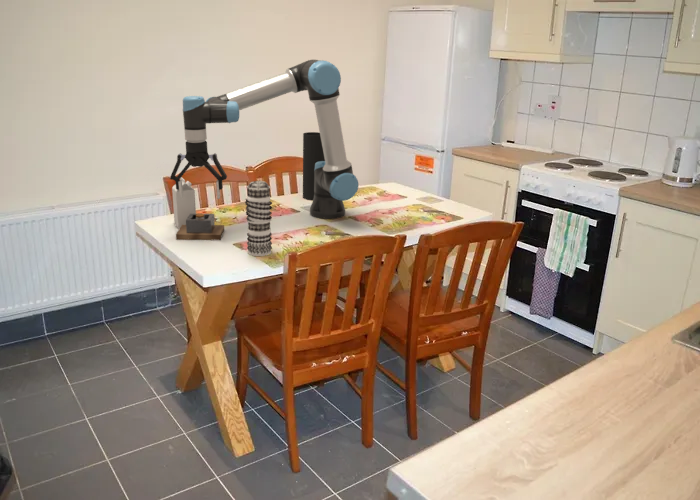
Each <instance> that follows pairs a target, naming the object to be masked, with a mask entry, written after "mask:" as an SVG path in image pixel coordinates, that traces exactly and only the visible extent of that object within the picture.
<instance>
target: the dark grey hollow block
mask: <svg viewBox="0 0 700 500" xmlns="http://www.w3.org/2000/svg"><path fill="white" fill-rule="evenodd" d="M196 214H197V213H196ZM196 214H192V213H190V214H189V216H188V218H187V219H186V231H187V233H212V231H213V229H214V227H215V225H216V224H215V213H203V214H204V219H196Z"/></svg>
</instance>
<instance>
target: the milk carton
mask: <svg viewBox="0 0 700 500" xmlns="http://www.w3.org/2000/svg"><path fill="white" fill-rule="evenodd" d="M180 180H182V188H183V198H182V199H180V195H179V190H177V189H176V183H175V184H174V185H173V186H172V188H171V191H172V205H173V208H172V209H173V219H174V220H173V223H174V225H175V227H177V229H178V230H179V229H180V227H181V226H182V225H186V219H187V218H188V216H189V214H190V213H192V214H197V210H196V208H197V207H196V193H195V192H196V190H195V189H194V188H193V187H192V183H191V182H190V181H189V180H185V179H184V178H183V176H182V177H181V178H180Z"/></svg>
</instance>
